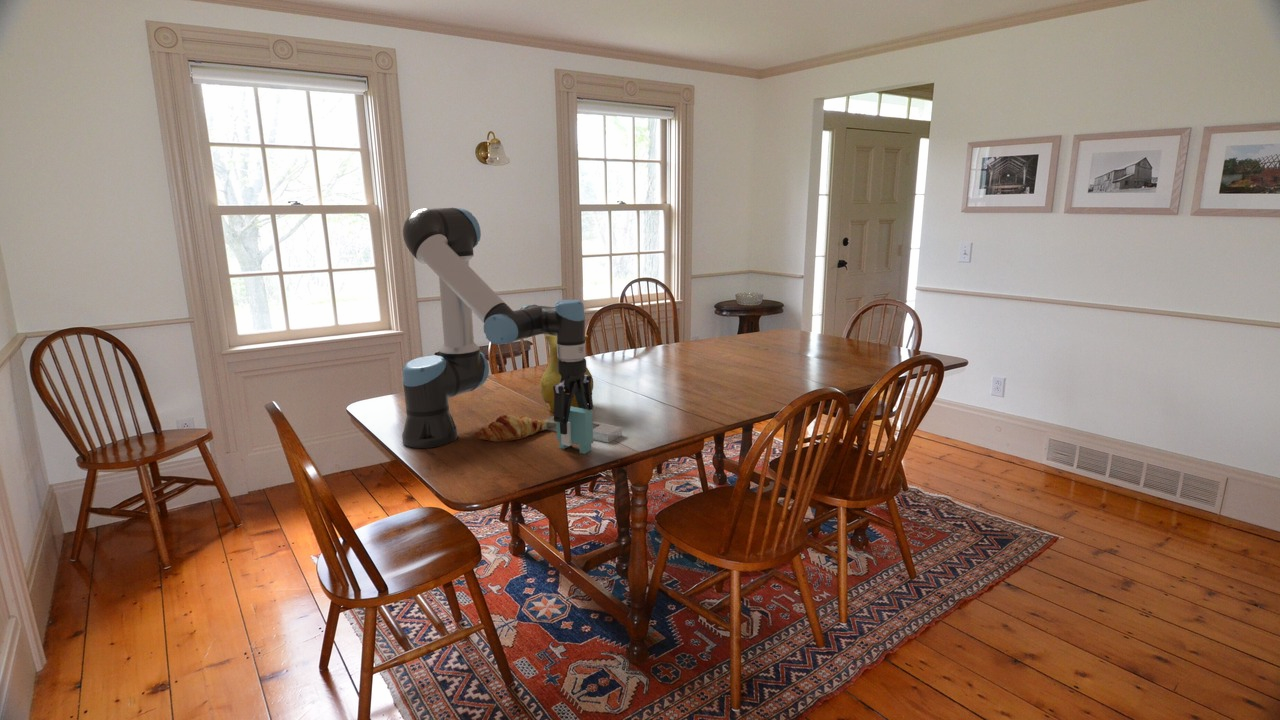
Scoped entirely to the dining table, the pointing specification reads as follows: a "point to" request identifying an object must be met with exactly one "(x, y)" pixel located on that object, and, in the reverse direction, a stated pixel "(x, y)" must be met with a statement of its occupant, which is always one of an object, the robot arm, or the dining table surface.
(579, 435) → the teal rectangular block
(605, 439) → the rail
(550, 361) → the pitcher
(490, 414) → the dining table surface
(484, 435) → the croissant
